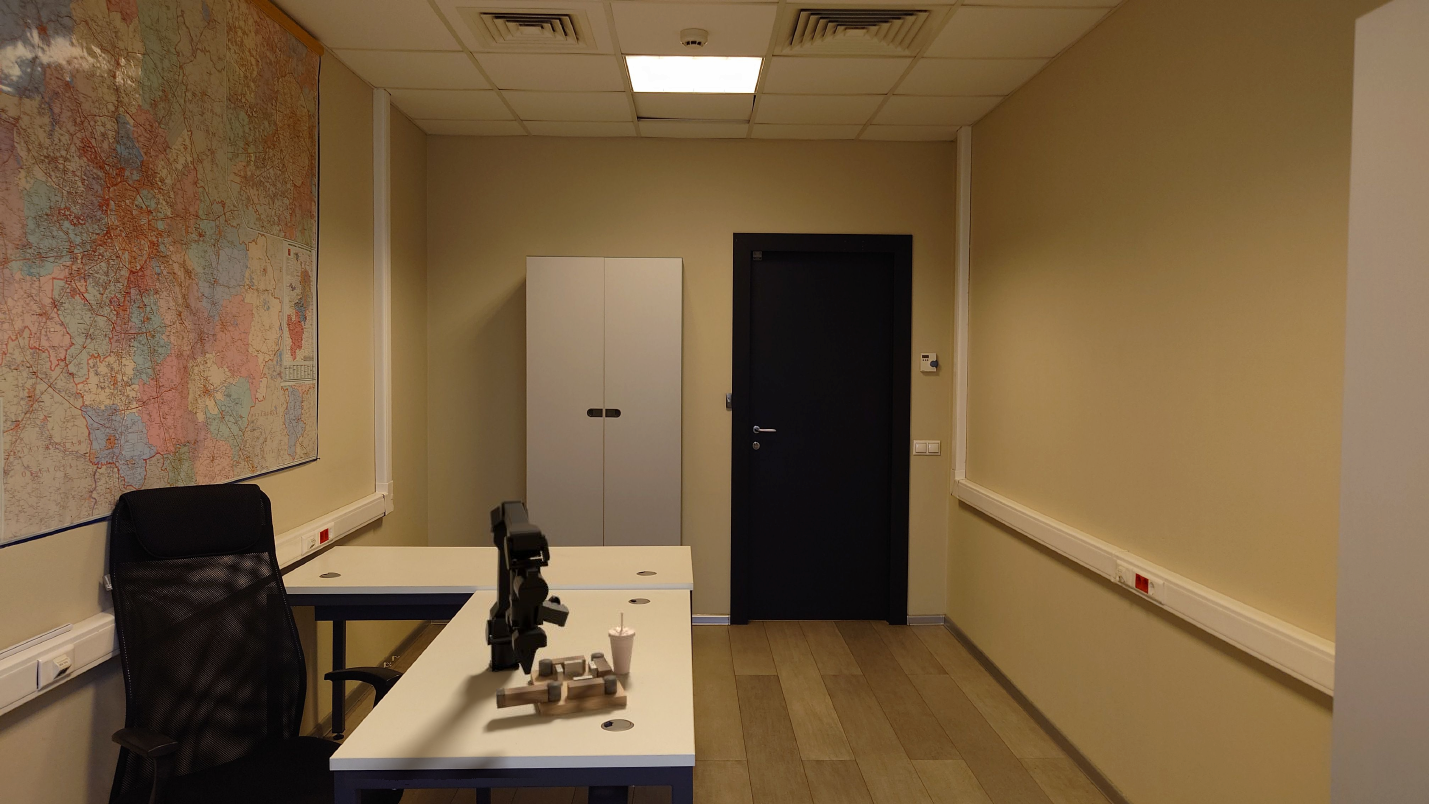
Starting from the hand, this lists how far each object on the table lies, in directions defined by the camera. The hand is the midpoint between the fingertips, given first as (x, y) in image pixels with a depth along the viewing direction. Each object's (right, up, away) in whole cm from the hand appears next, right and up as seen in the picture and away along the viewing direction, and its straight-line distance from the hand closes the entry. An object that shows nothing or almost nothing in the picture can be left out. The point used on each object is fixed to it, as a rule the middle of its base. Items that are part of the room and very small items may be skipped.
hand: (525, 668), depth 157 cm
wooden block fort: (+7, -11, +18) cm, 22 cm away
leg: (-1, -9, +7) cm, 12 cm away
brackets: (+7, -9, +18) cm, 21 cm away
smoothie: (+16, -11, +29) cm, 35 cm away
